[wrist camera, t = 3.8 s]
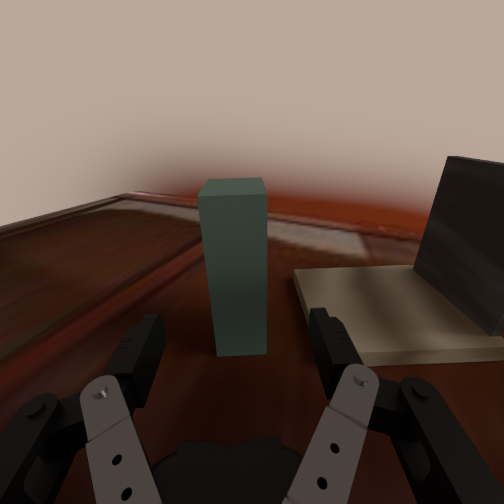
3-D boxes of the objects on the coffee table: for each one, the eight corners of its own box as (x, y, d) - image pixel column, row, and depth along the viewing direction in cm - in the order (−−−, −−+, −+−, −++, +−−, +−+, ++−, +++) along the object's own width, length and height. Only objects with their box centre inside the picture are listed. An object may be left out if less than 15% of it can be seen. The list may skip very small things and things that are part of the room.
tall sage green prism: (262, 311, 25) (261, 176, 19) (266, 354, 20) (267, 193, 14) (222, 313, 25) (208, 178, 19) (217, 356, 20) (197, 196, 14)
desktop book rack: (410, 275, 30) (448, 154, 24) (504, 360, 19) (616, 179, 13) (293, 280, 30) (300, 159, 24) (321, 368, 19) (347, 188, 13)
